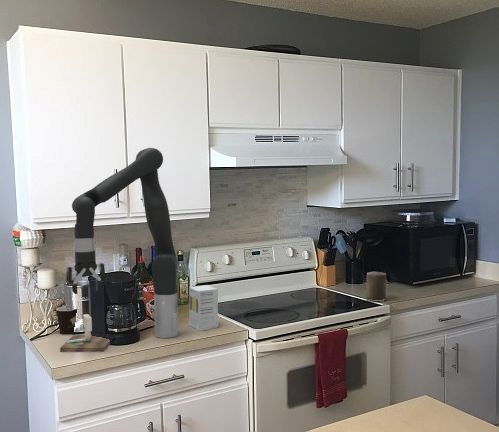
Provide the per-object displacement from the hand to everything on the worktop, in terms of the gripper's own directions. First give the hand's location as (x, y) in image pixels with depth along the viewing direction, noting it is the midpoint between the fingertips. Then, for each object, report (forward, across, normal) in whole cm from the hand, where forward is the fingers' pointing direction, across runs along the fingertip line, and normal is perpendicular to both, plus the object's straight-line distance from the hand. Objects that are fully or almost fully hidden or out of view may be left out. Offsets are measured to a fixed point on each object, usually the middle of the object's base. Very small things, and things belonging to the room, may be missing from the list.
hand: (86, 292), depth 219 cm
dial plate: (+20, 0, 0) cm, 21 cm away
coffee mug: (+21, 0, -22) cm, 30 cm away
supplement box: (+21, -49, +4) cm, 53 cm away
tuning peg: (+19, +3, -1) cm, 19 cm away
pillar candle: (+22, -144, +12) cm, 146 cm away
